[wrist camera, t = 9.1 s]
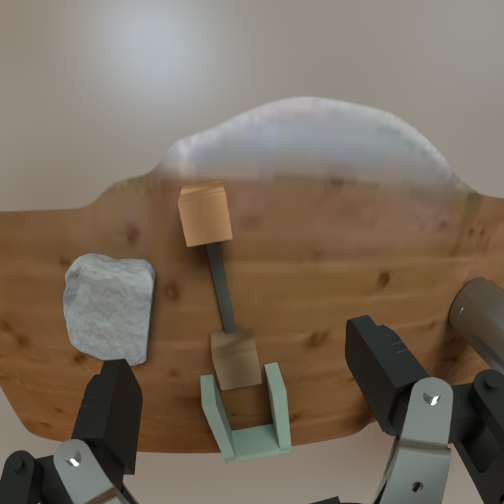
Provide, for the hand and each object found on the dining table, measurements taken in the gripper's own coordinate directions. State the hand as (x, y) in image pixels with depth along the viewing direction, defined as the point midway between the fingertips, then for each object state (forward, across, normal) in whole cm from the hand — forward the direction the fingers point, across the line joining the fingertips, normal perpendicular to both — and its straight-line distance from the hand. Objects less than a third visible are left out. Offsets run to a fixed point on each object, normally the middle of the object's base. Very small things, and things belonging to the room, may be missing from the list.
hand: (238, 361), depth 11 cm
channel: (+20, +1, +27) cm, 34 cm away
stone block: (+21, +13, +8) cm, 26 cm away
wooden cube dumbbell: (+20, +1, +8) cm, 22 cm away
